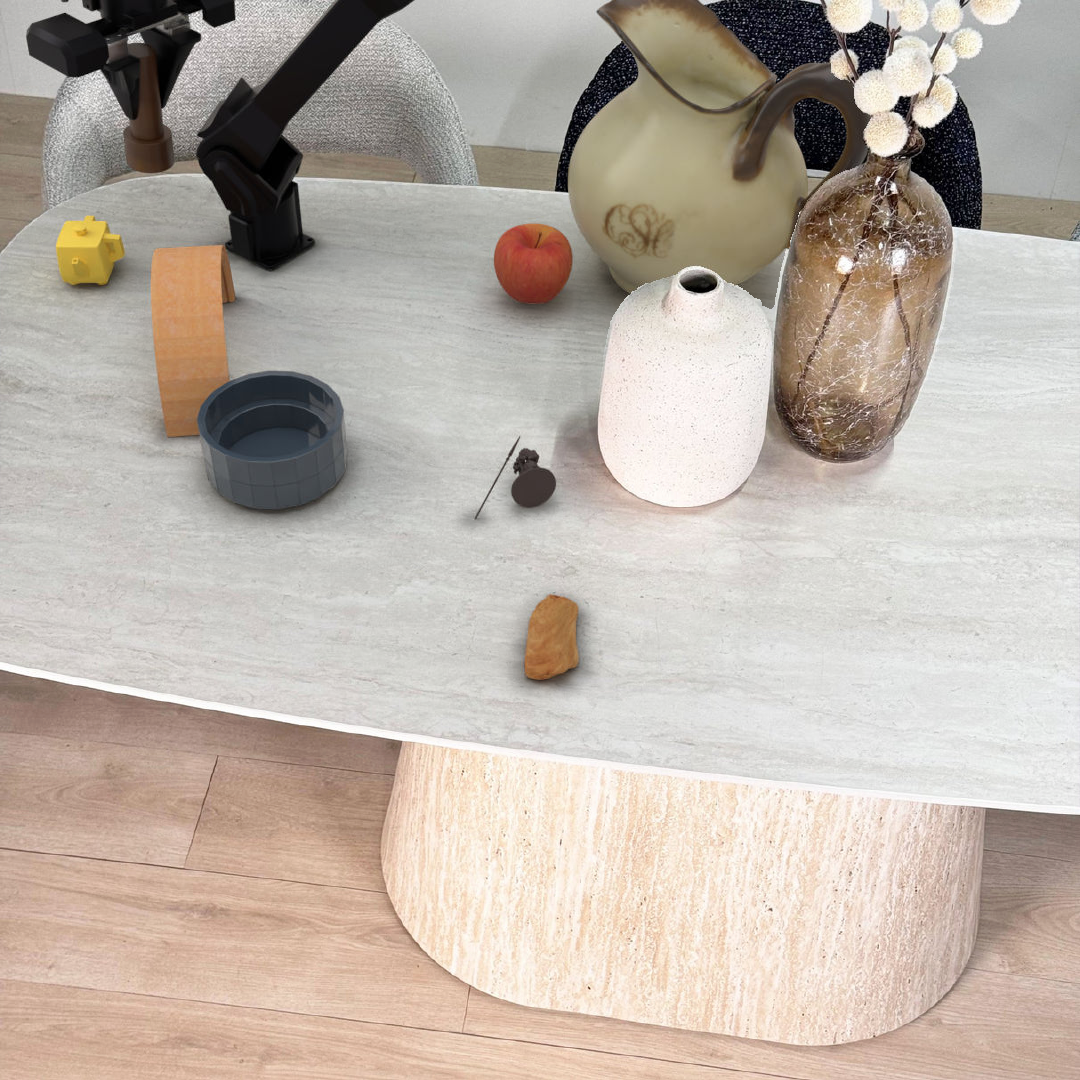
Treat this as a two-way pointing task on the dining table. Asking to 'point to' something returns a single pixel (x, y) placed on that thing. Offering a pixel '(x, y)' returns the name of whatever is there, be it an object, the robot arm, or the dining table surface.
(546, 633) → the brown rounded lump
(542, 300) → the apple
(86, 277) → the teapot
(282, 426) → the bowl
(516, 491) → the dark disc and stick
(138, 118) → the muddler
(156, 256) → the arch
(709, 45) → the pitcher
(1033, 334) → the dining table surface
